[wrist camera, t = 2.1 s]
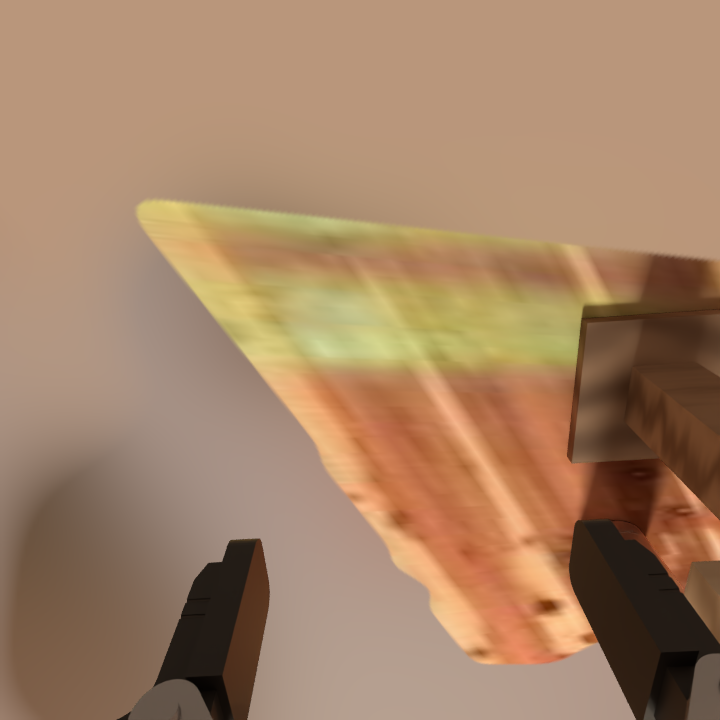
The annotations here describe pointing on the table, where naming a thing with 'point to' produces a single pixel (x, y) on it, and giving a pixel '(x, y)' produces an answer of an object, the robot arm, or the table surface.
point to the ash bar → (705, 593)
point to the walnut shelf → (651, 395)
